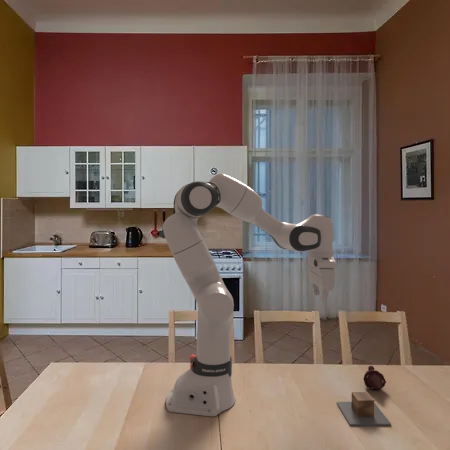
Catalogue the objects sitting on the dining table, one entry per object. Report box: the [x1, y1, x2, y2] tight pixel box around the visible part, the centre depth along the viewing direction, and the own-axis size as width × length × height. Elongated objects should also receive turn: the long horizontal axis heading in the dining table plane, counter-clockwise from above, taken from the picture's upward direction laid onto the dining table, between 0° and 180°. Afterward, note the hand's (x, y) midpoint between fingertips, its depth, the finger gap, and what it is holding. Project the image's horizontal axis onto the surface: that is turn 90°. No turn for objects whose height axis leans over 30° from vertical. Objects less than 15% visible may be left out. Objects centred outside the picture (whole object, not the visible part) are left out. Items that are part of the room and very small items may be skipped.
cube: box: [351, 391, 375, 417], centre depth 109 cm, size 5×5×5 cm
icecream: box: [363, 365, 387, 391], centre depth 125 cm, size 7×7×15 cm
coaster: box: [336, 401, 392, 427], centre depth 109 cm, size 12×12×1 cm
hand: (319, 298), depth 128 cm, fingers open, 8 cm apart
